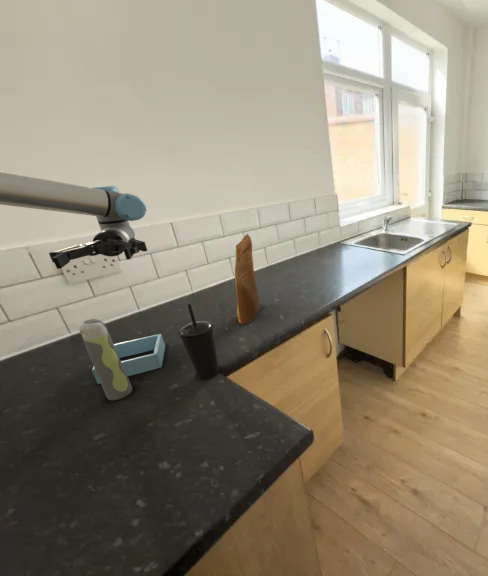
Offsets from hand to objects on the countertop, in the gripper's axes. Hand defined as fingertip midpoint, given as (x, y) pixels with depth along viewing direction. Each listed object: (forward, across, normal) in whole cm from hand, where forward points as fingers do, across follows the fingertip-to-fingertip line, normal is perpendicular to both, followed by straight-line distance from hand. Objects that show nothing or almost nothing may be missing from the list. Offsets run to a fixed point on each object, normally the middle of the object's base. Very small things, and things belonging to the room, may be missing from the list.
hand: (93, 258), depth 79 cm
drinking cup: (+19, -19, -30) cm, 40 cm away
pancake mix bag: (-12, -34, -30) cm, 47 cm away
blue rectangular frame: (+3, -1, -30) cm, 30 cm away
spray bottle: (+17, 0, -30) cm, 35 cm away
